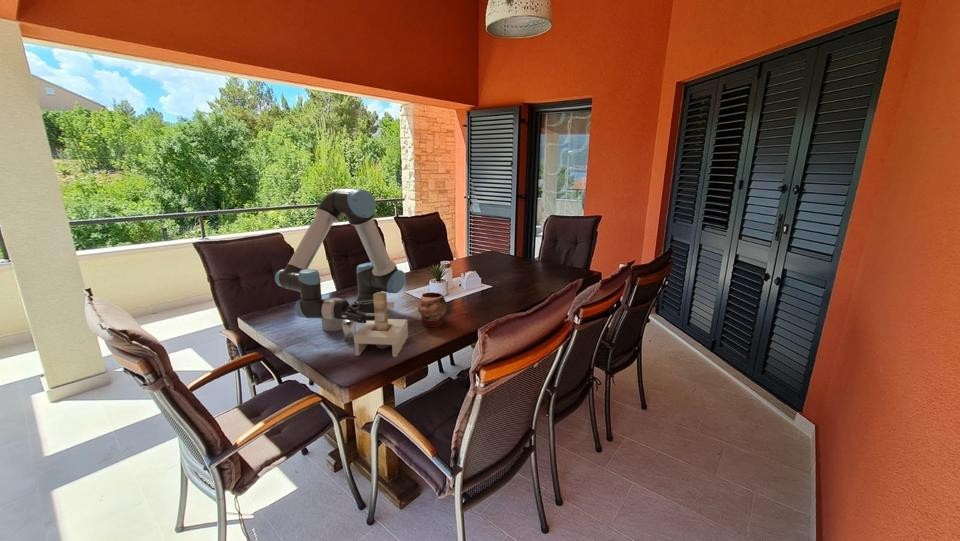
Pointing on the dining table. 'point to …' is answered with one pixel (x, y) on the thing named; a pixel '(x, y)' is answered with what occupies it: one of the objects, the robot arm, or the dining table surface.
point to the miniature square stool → (382, 336)
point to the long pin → (381, 308)
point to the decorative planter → (432, 309)
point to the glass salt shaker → (348, 329)
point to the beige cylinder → (332, 321)
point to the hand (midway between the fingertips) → (389, 311)
